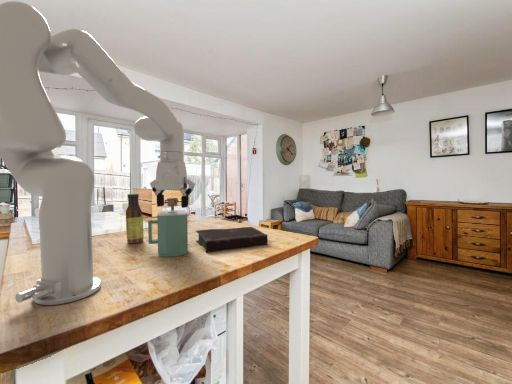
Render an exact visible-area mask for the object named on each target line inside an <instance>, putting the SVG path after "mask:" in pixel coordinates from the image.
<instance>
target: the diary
mask: <svg viewBox="0 0 512 384" xmlns="http://www.w3.org/2000/svg"><path fill="white" fill-rule="evenodd" d="M195 232H196V233H197V234H198V240H195V242H196V243H197V244H198V245H199V246H200V247H203V248H204V249H205V253H213V252H220V251H228V250H237V249H245V248H251V247H252V248H253V247H259V246H267V245H268V242H269V241H268V234H266V233H264V232H262V231H260V229H257V228H255V227H253V226H245V227H233V228H210V229H209V228H208V229H198V230H197V229H196V230H195Z"/></svg>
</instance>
